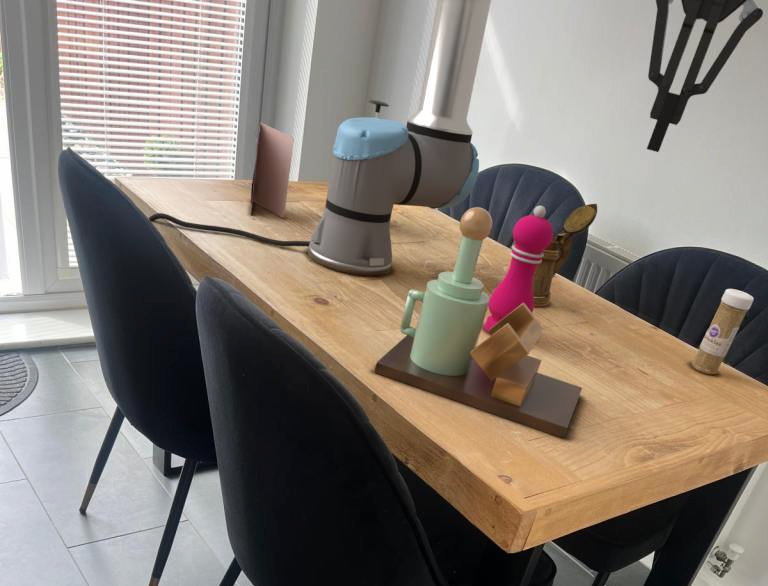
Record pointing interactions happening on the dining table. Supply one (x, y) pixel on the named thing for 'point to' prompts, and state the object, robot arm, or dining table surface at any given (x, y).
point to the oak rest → (511, 355)
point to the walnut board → (487, 391)
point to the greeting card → (272, 169)
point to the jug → (451, 306)
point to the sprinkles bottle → (722, 331)
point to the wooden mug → (549, 264)
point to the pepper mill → (521, 266)
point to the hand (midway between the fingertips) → (653, 149)
